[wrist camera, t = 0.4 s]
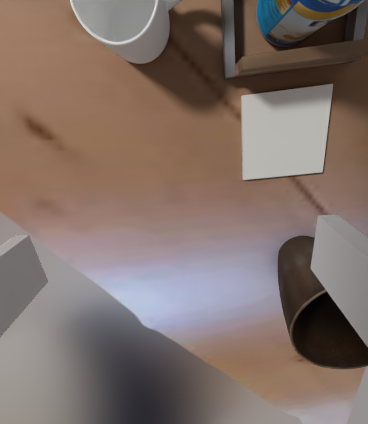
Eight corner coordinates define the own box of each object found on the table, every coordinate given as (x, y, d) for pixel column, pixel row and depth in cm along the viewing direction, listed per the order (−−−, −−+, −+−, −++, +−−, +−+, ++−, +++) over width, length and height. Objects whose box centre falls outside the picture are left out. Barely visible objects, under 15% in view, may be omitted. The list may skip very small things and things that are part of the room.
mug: (181, -47, 27) (173, -133, 17) (207, 32, 30) (213, -5, 20) (95, 8, 29) (47, -42, 20) (127, 76, 32) (98, 61, 23)
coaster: (240, 95, 32) (241, 95, 32) (330, 84, 31) (333, 83, 31) (242, 179, 37) (243, 180, 36) (320, 171, 36) (322, 172, 35)
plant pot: (362, 241, 40) (456, 315, 26) (303, 297, 46) (354, 384, 31) (294, 200, 38) (356, 256, 23) (241, 264, 44) (264, 342, 29)
